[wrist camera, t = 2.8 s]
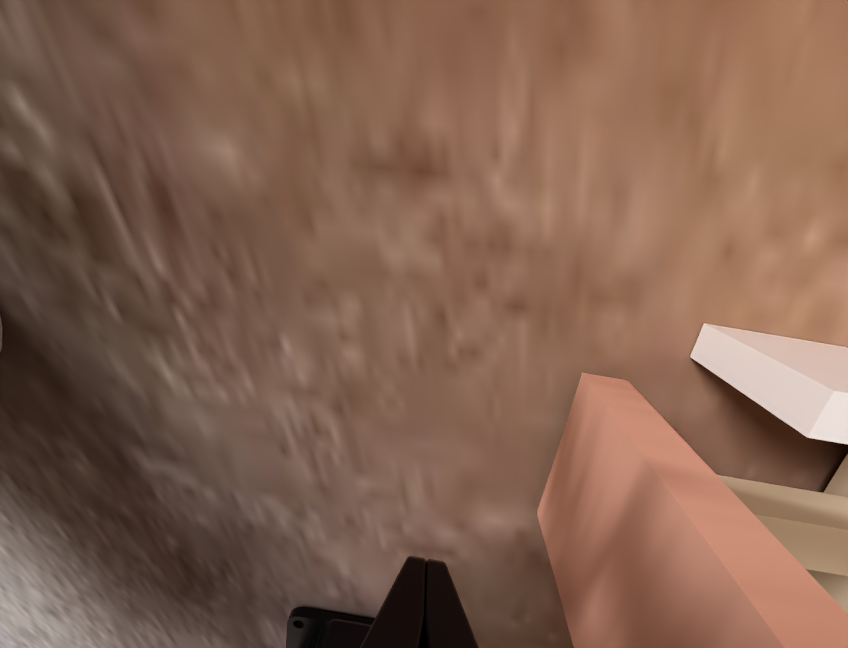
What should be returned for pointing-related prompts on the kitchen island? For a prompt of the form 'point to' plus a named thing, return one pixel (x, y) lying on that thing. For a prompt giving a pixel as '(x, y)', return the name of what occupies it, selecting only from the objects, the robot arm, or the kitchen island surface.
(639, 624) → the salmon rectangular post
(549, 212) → the kitchen island surface
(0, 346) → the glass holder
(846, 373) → the channel
